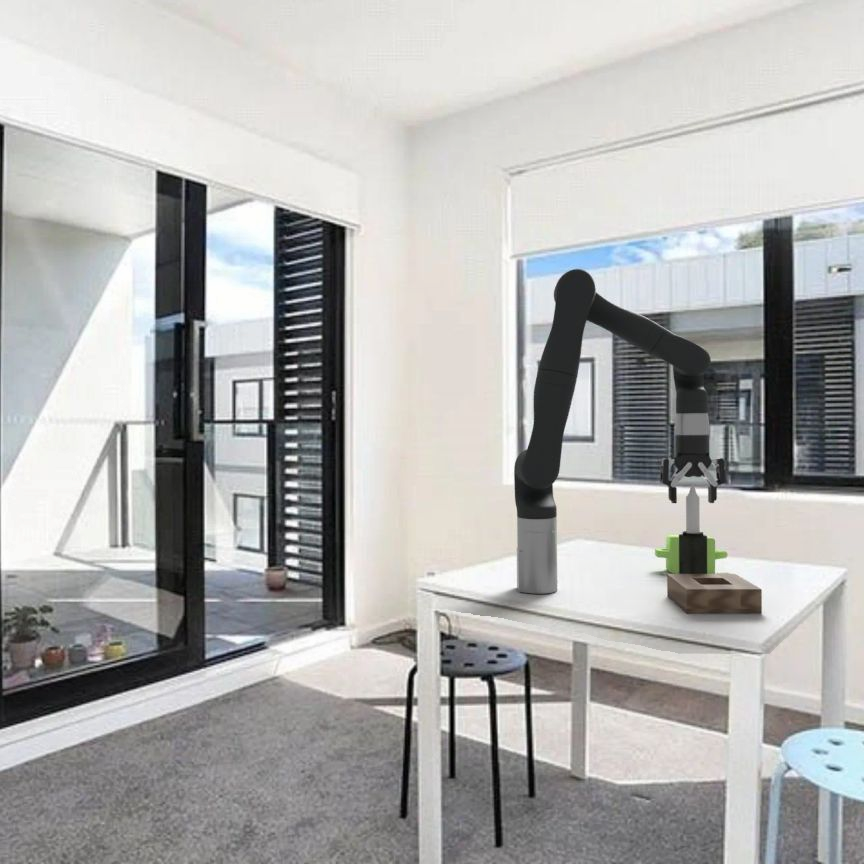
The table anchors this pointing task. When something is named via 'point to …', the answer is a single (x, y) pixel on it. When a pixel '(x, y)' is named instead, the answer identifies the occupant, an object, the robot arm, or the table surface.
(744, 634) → the table surface
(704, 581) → the holder
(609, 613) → the table surface
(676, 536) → the green square pitcher
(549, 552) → the robot arm
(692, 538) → the candle
